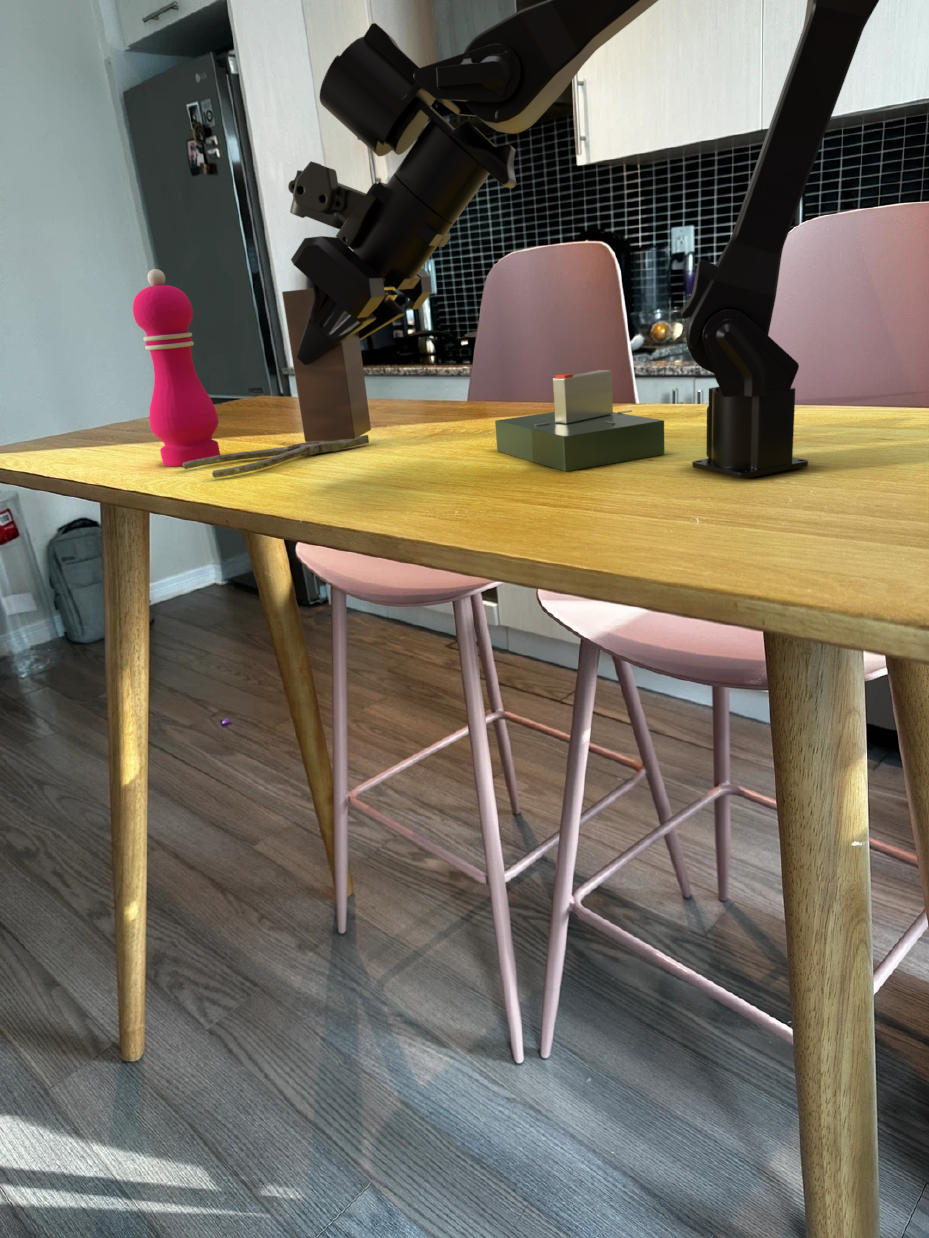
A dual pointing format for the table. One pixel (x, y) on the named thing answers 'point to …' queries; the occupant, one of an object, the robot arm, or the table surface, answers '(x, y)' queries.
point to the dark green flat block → (580, 439)
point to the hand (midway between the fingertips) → (312, 358)
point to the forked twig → (278, 453)
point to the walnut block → (327, 379)
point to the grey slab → (582, 396)
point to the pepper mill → (175, 375)
